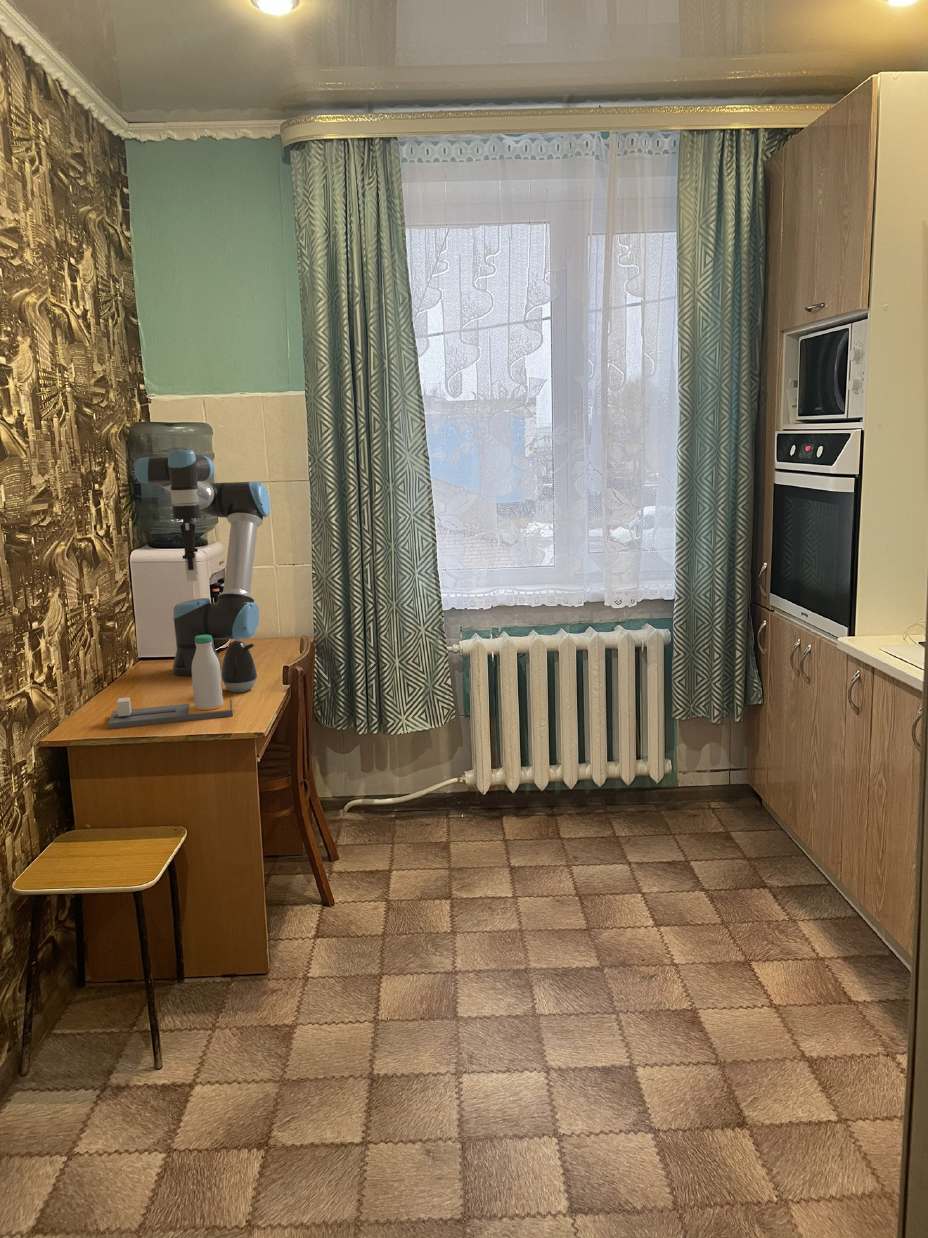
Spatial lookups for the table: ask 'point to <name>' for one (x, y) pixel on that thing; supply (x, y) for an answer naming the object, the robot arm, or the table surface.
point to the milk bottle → (206, 675)
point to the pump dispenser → (239, 667)
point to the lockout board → (168, 715)
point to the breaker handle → (124, 706)
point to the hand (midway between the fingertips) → (192, 577)
